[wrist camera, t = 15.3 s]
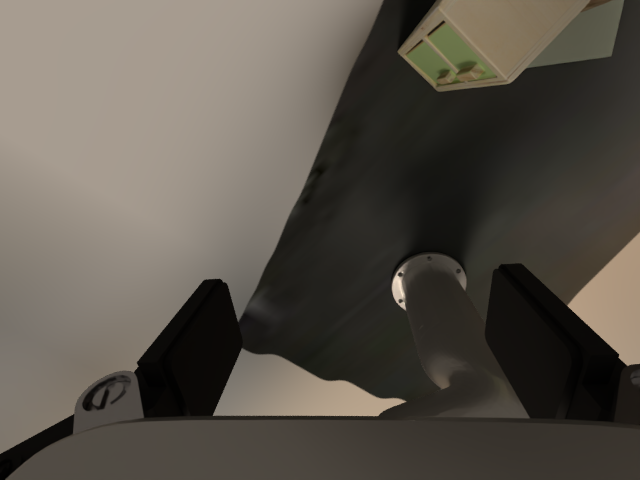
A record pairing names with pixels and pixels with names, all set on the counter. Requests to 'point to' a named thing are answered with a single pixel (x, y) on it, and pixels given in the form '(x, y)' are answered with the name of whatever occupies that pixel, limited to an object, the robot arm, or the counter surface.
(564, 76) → the counter surface
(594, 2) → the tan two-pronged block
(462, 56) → the beige block
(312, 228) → the counter surface
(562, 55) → the sage mat
